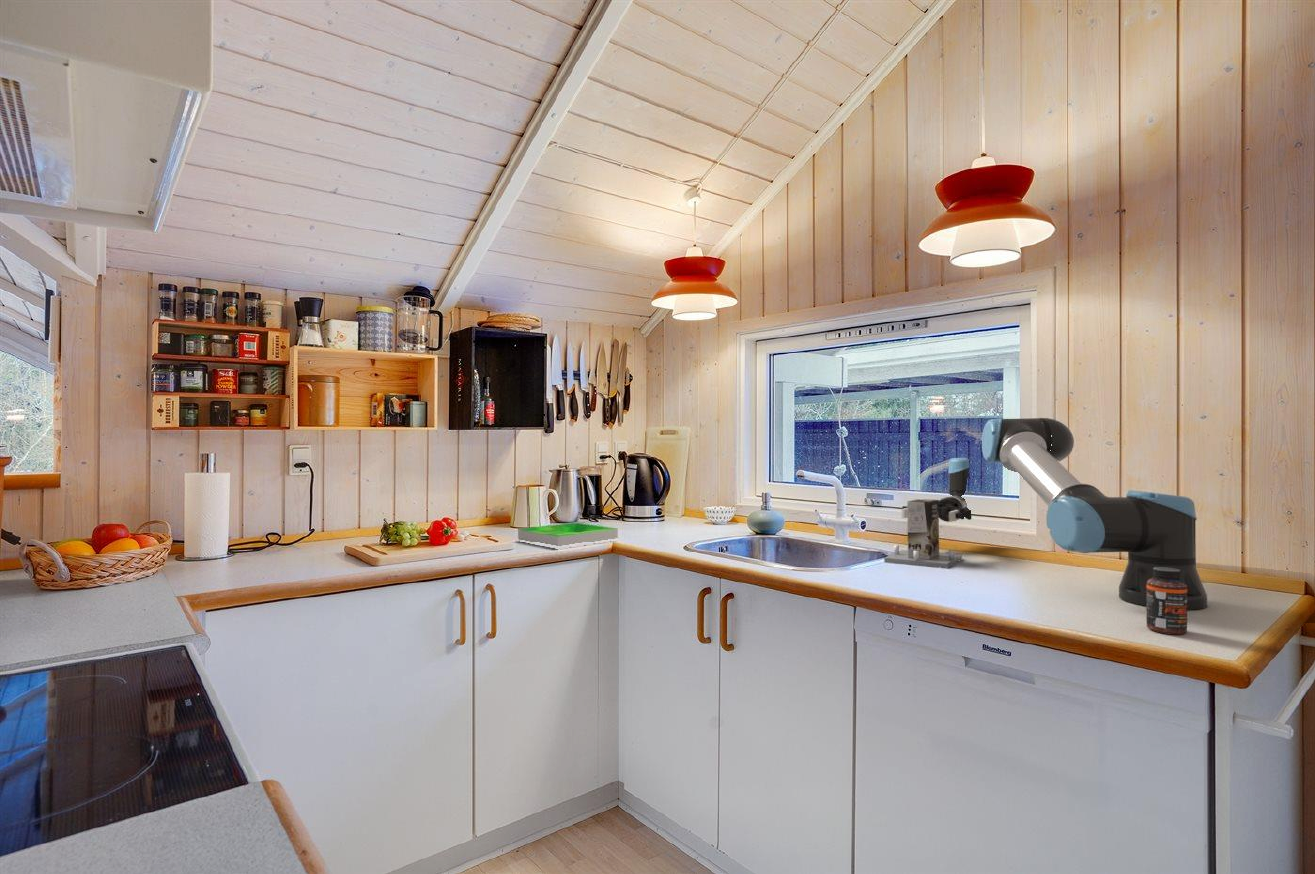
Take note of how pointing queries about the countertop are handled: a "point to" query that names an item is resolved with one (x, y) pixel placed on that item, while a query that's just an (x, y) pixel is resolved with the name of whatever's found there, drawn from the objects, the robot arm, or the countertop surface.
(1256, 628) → the countertop surface
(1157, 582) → the supplement bottle
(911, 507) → the coffee box
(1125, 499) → the robot arm
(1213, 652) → the countertop surface
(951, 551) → the cradle
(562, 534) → the tray
